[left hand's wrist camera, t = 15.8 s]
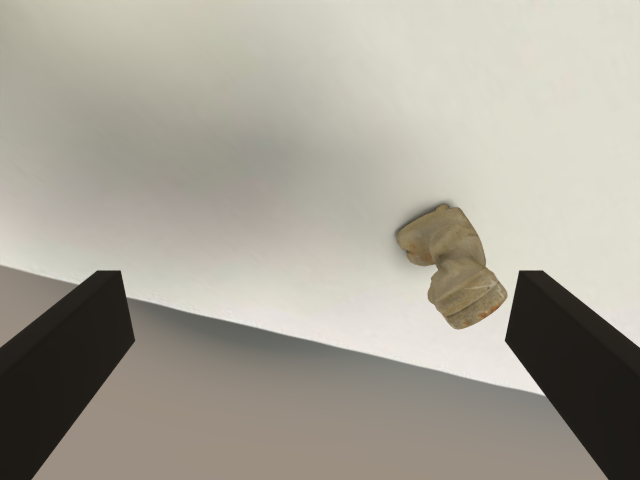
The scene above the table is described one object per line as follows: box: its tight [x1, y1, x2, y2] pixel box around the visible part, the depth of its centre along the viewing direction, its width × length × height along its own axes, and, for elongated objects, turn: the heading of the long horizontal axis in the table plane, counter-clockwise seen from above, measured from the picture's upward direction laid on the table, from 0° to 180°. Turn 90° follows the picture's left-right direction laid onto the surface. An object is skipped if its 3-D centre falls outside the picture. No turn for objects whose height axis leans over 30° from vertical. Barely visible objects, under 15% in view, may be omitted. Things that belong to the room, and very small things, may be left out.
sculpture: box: [397, 204, 507, 329], centre depth 35 cm, size 6×7×15 cm
